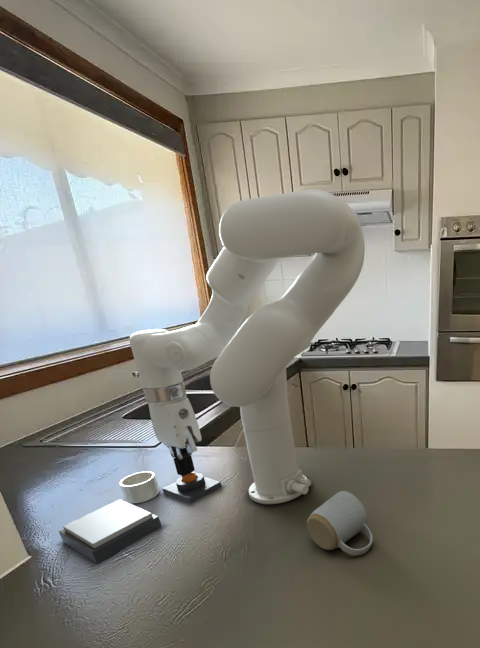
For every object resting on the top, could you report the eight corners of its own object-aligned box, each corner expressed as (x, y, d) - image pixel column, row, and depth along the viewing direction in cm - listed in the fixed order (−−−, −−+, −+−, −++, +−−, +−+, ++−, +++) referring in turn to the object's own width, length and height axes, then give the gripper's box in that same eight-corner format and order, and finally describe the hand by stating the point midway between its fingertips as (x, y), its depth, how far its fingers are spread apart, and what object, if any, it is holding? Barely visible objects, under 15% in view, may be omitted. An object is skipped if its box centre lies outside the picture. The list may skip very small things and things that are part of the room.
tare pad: (222, 487, 95) (219, 475, 94) (190, 504, 89) (187, 491, 87) (194, 478, 100) (191, 466, 99) (163, 493, 94) (160, 481, 93)
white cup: (166, 493, 94) (160, 475, 92) (136, 508, 89) (130, 489, 87) (149, 486, 98) (143, 469, 96) (120, 500, 92) (113, 482, 91)
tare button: (199, 478, 94) (197, 472, 93) (188, 484, 91) (186, 477, 91) (191, 476, 95) (190, 469, 94) (180, 481, 93) (178, 475, 92)
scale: (162, 527, 81) (157, 512, 80) (97, 564, 72) (90, 547, 71) (126, 511, 88) (121, 496, 87) (63, 542, 79) (56, 526, 78)
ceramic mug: (306, 544, 73) (300, 506, 70) (338, 521, 78) (333, 485, 75) (353, 567, 66) (349, 526, 63) (384, 540, 72) (381, 501, 69)
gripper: (204, 391, 85) (222, 472, 92) (161, 384, 92) (181, 459, 99) (169, 402, 79) (192, 488, 86) (127, 393, 87) (151, 472, 94)
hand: (186, 472), depth 93 cm, fingers closed
